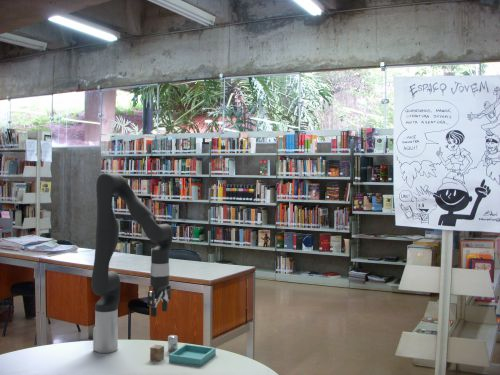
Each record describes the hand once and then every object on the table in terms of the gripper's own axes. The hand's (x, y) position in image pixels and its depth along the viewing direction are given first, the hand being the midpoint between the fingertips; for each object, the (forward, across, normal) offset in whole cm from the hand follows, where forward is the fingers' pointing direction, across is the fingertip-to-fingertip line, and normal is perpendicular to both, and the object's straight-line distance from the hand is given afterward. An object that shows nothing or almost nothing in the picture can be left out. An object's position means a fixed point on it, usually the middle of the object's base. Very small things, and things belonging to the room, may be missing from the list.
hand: (159, 313), depth 203 cm
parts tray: (+18, -6, +13) cm, 23 cm away
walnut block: (+18, 0, 0) cm, 18 cm away
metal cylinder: (+18, -11, +1) cm, 21 cm away
